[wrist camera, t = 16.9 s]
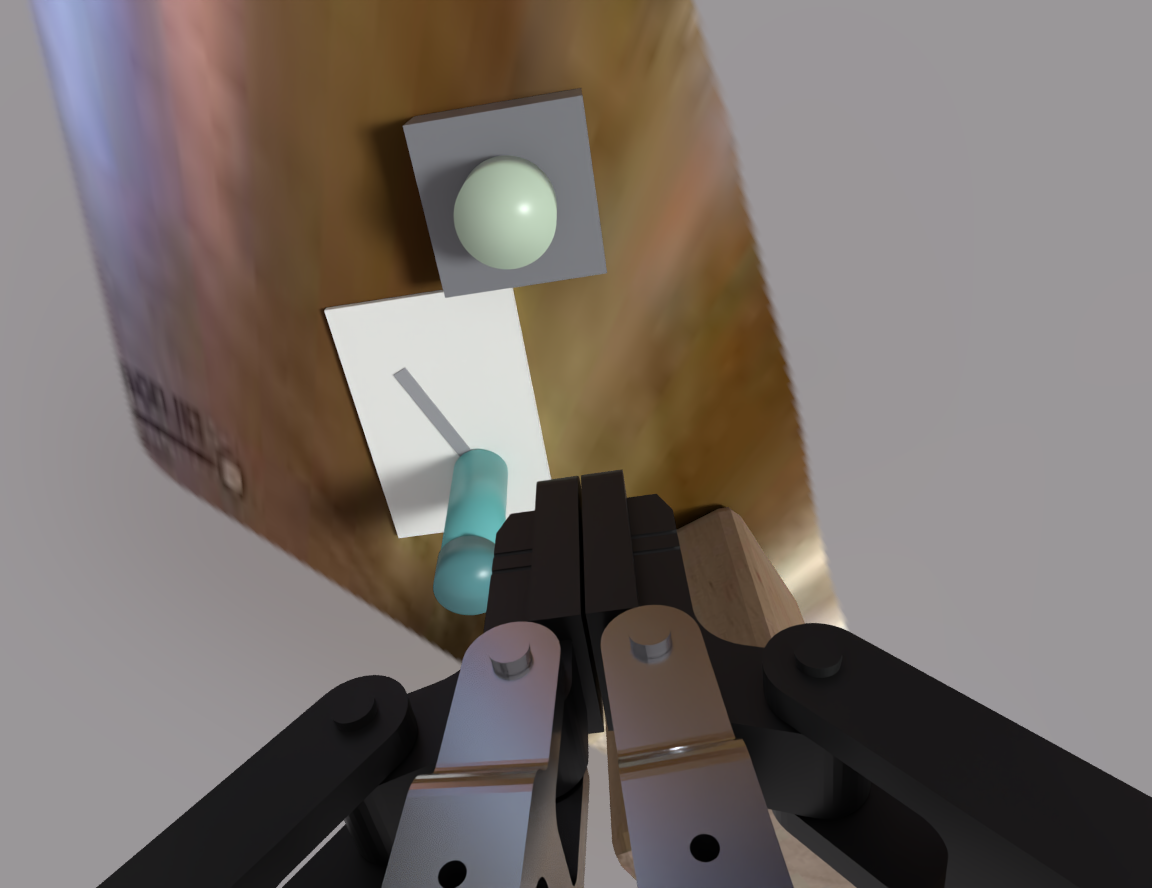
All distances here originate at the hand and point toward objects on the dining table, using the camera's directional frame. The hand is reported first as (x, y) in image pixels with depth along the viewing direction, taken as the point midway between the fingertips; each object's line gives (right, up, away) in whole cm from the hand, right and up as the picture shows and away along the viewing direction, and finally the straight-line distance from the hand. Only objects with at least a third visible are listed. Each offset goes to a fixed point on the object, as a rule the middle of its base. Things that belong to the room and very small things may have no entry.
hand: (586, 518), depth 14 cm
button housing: (-3, +14, +25) cm, 29 cm away
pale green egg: (-3, +14, +25) cm, 29 cm away
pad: (-7, +3, +32) cm, 33 cm away
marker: (-6, 0, +33) cm, 33 cm away
